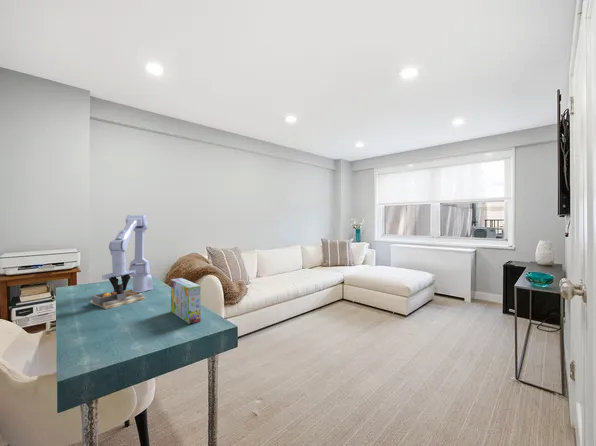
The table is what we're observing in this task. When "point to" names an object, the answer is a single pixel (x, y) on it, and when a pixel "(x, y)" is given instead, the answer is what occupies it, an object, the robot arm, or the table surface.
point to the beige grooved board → (123, 300)
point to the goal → (102, 298)
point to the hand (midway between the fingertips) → (120, 291)
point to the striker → (119, 292)
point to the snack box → (186, 300)
